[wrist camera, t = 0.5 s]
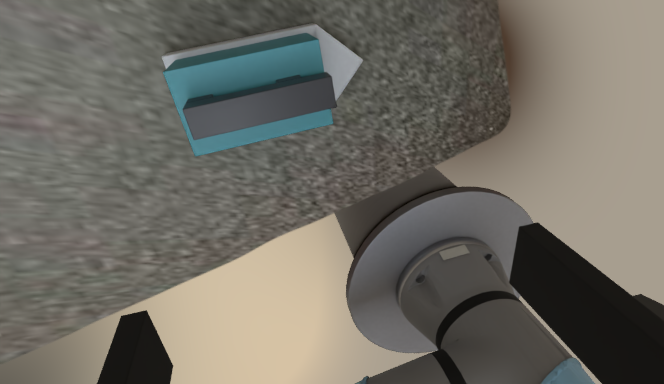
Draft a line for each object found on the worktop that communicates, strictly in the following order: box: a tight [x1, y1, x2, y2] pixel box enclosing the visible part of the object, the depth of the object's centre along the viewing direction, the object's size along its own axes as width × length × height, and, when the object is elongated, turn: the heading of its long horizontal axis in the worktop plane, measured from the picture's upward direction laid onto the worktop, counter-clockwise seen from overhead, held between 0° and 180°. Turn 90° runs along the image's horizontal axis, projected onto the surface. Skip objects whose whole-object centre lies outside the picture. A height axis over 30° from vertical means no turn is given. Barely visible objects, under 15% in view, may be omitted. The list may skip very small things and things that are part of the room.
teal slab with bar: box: [162, 23, 363, 156], centre depth 33 cm, size 18×8×11 cm, turn 99°
